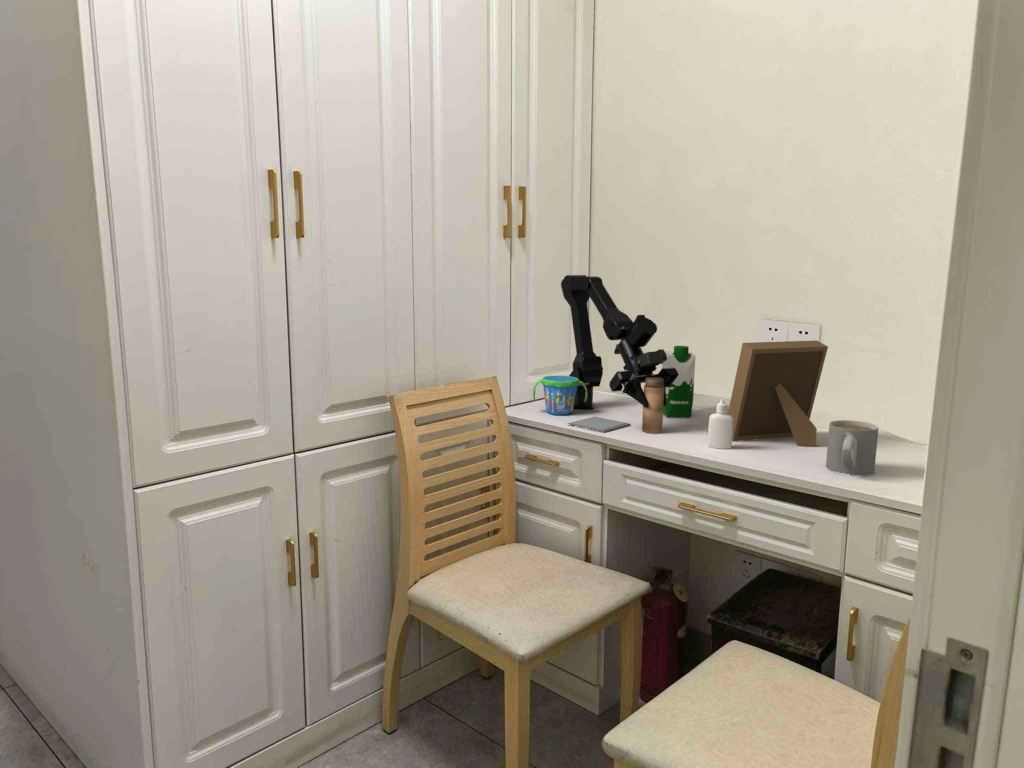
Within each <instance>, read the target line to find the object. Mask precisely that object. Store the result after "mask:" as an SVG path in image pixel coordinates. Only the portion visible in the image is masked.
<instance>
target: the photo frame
mask: <svg viewBox="0 0 1024 768" xmlns="http://www.w3.org/2000/svg"><path fill="white" fill-rule="evenodd" d="M828 348H829V346H828V345H826V344H824V343H822V342H820V341H819V340H816V339H815V340H795V341H794V340H792V341H790V340H787V341H765V342H764V341H761V342H760V341H758V342H756V341H755V342H742V345H741V349H740V354H739V359H738V364H737V368H736V372H735V378H734V381H733V388H732V391H731V392H732V393H731V397H730V401H729V407H728V409H727V414H728V415H731V416H732V417H733V431H732V442H741V441H740V440H743V441H753V440H754V439H757V440H767V438H770V439H780V438H781V437H783V438H793V439H794V440H795V441H794V442H795V443H796V446H801V447H803V446H804V447H805V446H807V447H816V446H817V429H818V428H817V427H816V426H815V424H813V422H812V420H811V415H812V411H813V408H814V403H815V400H816V395H817V392H818V389H819V388H818V387H819V384H820V380H821V375H822V373H823V368H824V364H825V360H826V357H827V352H828ZM792 436H794V437H792ZM781 439H782V438H781Z"/></svg>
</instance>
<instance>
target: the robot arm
mask: <svg viewBox="0 0 1024 768" xmlns="http://www.w3.org/2000/svg"><path fill="white" fill-rule="evenodd" d="M560 287H561V291H562V296H563V299H564V300H565V302H567V303H568V305H569V307H570V313H571V319H572V320H571V321H572V328H573V336H574V337H573V338H574V344H575V352H576V354H575V357H574V360H573V362H572V371H571V372H570V374H569V375H568V376H571V377H576V378H578V379H579V380H580V381H582V382H583V383H584V384H585V386H586V388H587V400H586V402H584V398H585V391H586V390H585V388H584V386H583V385H582V384H581V383H580V384H579V385H578V388H577V391H576V395H575V401H574V406H573V409H583V410H585V409H586V410H588V409H589V410H593V409H594V407H595V402H594V401H593V400H594V399H593V397H594V387H597V388H599V387H600V386H601V381H602V379H603V375H604V372H603V371H604V368H603V361H602V357H601V356H599V355H598V356H597V354H596V352H595V351H594V345H593V340H592V331H591V330H592V329H591V324H590V316H589V310H588V302H589V300H590V299H591V301H592V303H593V304H594V306H595V308H596V309H597V311H598V313H599V315H600V316H601V318H602V320H603V322H602V328H603V331H604V334H605V336H606V337H607V339H608V340H609V341H619V342H618V343H617V344H615V349H613V353H614V355H620V356H621V358H622V361H623V363H624V366H623V370H620V371H619V370H618V371H616V372H615V374H614V375H613V377H612V378H611V379H610V380H609V384H608V385H609V388H610V390H611V392H613V393H614V392H615V393H616V392H622V393H623V394H626V395H628V396H629V397H631V398H632V399H633V400H635V401H636V402H638V403H640V405H642V407H643V406H644V407H646V408H647V407H648V406H649V404H648V401H647V399H646V396H645V394H644V389H643V388H642V384H645V378H648V377H658V378H663V386H664V404H663V406H665V405H666V404H667V402H666V387H669V386H670V385H671V384H672V383H673V382H674V380H675V379H676V378H677V377H678V375H679V374H678V372H677V370H676V368H662V367H661V369H660V371H659V372H658V373H653V372H656V370H657V366H659V365H662V364H663V362H664V361H666V360H667V355H666V353H665V351H666V350H665V349H664V348H663V349H661V348H660V349H657V350H655V351H646V352H645V353H644V351H643V349H642V348H643V347H645V346H647V345H648V344H649V343H650V341H651V340H652V338H653V337H654V335H655V334H656V333H657V331H658V325H657V324H656V323H655V322H654V321H653V320H651V319H650V318H647V317H646V316H645V314H638V315H637V316H636V317H635V319H634V320H633V319H632V318H630V317H629V316H628V314H626V313H625V312H623V311H621V310H620V309H619V308H618V307H617V305H616V304H615V302H614V299H613V298H612V297H611V296H610V294H609V292H608V289H606V287H605V286H604V283H603V280H602V278H601V277H600V276H597V275H596V276H595V275H594V276H588V275H585V274H567V275H565V276H564V278H563V279H562V280H561V282H560Z"/></svg>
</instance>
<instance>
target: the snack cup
mask: <svg viewBox="0 0 1024 768" xmlns="http://www.w3.org/2000/svg"><path fill="white" fill-rule="evenodd" d="M540 383H541V384H542V386H543V394H544V404H545V411H546V413H547V414H550V415H553V416H554V415H556V416H561V415H562V416H563V415H566V416H567V415H570V414H572V413H573V410H574V408H573V406H574V401H575V395H576V391H577V388H578V385H579V384H580V383H581V384H582V385H583V386H584V388H585V390H586V391H585V398H584V402H586V400H587V388H586V386H585V384H584V383H583V382H582V381H580V380H579V379H578V378H576V377H571V376H569V375H545V376H543V377H542V378H541V379H539V380H537V381H535V383H534V385H533V388H532V399H533V401H534V402H536V388H537V385H539V384H540Z"/></svg>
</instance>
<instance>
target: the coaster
mask: <svg viewBox="0 0 1024 768" xmlns="http://www.w3.org/2000/svg"><path fill="white" fill-rule="evenodd" d="M568 424H569V425H574V426H578V427H577V428H579V427H583V428H587V429H586V430H588V429H593V430H597V431H601V432H600V433H602V432H605V433H608V432H607V431H609V432H611V431H610V430H612V431H616V430H618V428H620V429H623V428H626V427H630V426H631V423H630V422H624V421H619V420H614V419H609V418H604V417H599V416H592V417H591V416H590V417H588V418H584V419H580V420H575V421H572V422H567V425H568ZM569 425H568V426H569ZM574 426H573V427H574ZM583 428H582V429H583ZM615 429H616V430H615ZM593 430H592V431H593ZM597 431H596V432H597Z"/></svg>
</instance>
